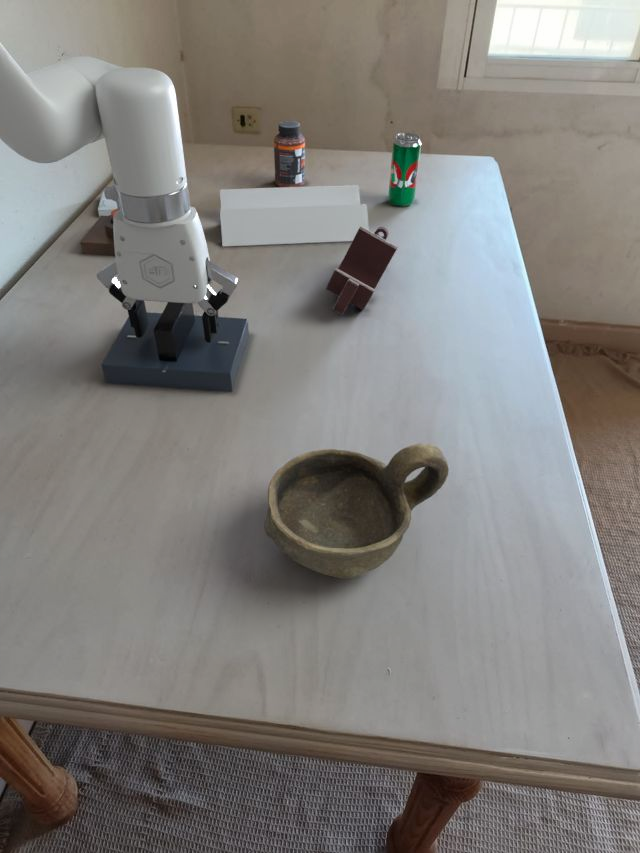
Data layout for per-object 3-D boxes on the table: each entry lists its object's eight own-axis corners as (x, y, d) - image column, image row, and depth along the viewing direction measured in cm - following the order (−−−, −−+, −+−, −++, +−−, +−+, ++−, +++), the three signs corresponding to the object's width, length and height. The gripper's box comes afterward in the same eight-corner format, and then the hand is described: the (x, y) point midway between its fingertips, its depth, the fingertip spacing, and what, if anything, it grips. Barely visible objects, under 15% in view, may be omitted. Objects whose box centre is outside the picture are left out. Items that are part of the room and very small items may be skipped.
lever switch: (104, 386, 78) (98, 366, 76) (136, 327, 88) (132, 307, 86) (231, 395, 77) (229, 375, 75) (249, 334, 87) (248, 315, 85)
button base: (83, 254, 103) (77, 231, 100) (103, 227, 110) (98, 205, 107) (154, 258, 102) (150, 235, 99) (171, 231, 109) (167, 208, 107)
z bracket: (363, 251, 114) (369, 240, 107) (224, 257, 111) (222, 246, 105) (358, 185, 114) (364, 170, 108) (219, 190, 112) (217, 174, 105)
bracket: (316, 303, 88) (349, 240, 82) (341, 269, 102) (370, 213, 96) (355, 325, 88) (389, 263, 82) (374, 287, 102) (404, 233, 97)
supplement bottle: (307, 188, 123) (308, 128, 116) (278, 191, 122) (276, 130, 115) (301, 177, 128) (301, 117, 120) (272, 179, 127) (270, 119, 119)
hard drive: (97, 209, 112) (168, 205, 113) (102, 190, 118) (169, 187, 119) (99, 218, 113) (169, 214, 114) (104, 199, 119) (171, 195, 120)
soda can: (414, 197, 121) (422, 132, 113) (413, 209, 117) (421, 142, 109) (388, 196, 122) (394, 130, 113) (386, 206, 118) (392, 140, 110)
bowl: (254, 496, 65) (248, 426, 59) (412, 468, 69) (423, 399, 62) (280, 611, 56) (276, 544, 49) (462, 572, 59) (483, 504, 52)
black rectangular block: (176, 361, 77) (171, 329, 74) (159, 360, 77) (152, 328, 74) (195, 321, 84) (190, 289, 80) (178, 320, 84) (173, 288, 80)
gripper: (62, 210, 66) (99, 346, 78) (225, 220, 65) (238, 356, 76) (89, 182, 71) (120, 313, 83) (240, 190, 70) (249, 322, 82)
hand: (176, 333), depth 80 cm, fingers open, 8 cm apart
